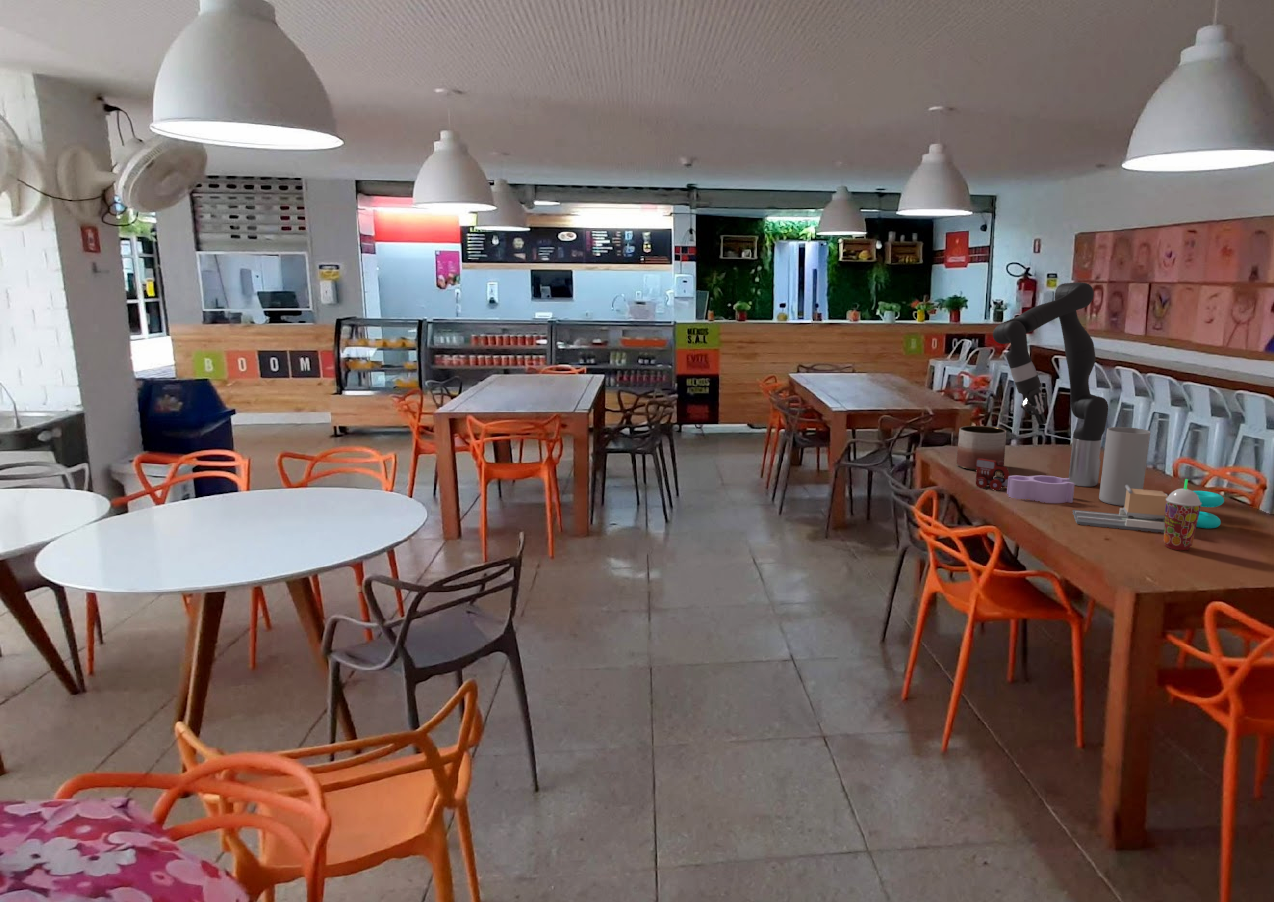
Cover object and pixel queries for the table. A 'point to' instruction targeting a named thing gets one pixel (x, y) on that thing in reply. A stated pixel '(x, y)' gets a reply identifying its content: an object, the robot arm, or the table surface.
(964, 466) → the planter
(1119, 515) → the dock
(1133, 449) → the cylinder vase
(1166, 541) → the smoothie
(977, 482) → the toy fire truck
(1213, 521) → the donuts
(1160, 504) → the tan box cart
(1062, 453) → the table surface
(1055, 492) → the clip
